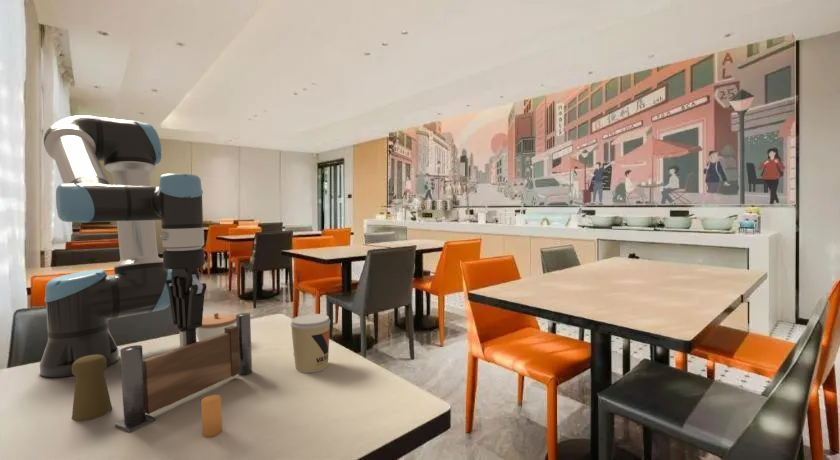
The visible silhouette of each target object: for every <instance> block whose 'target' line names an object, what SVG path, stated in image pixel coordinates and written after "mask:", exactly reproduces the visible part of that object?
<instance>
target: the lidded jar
mask: <svg viewBox="0 0 840 460" xmlns="http://www.w3.org/2000/svg"><path fill="white" fill-rule="evenodd" d="M236 315H237V314H236ZM236 315H235V314H231V313H219V312H214V313H213V314H211V315H207V316H203V318H202V326H201V327H198V328H196V339H197V341H201V340H204V339H207V338H210V337H213V336H216V335H219V334H222V333H225V329H224V328H226V327H229V326H237V323H236Z"/></svg>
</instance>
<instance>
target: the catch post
mask: <svg viewBox="0 0 840 460" xmlns="http://www.w3.org/2000/svg"><path fill="white" fill-rule="evenodd" d="M200 401H201V403H200V404H201V423H202V436H203V437H205V438H213V437H215V436H218V435H221V433H222V432H223V419H222V416H223V414H222V396H221V395H220V394H219V395H218V394H211V395H207V396H205V397H203V398H202V399H201V400H200Z"/></svg>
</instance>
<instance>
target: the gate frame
mask: <svg viewBox="0 0 840 460" xmlns="http://www.w3.org/2000/svg"><path fill="white" fill-rule="evenodd" d="M236 323H237V327H238V338H239V365H240V374H238V375H239V376H247V375H250V374H252V373H253V361H252V360H253V359H252V358H253V357H252V356H253V355H252V335H251V334H252V333H251V332H252V331H251V328H252V327H251V326H252V325H251V313H249V312H244V313H238V314H236ZM119 351H120V352H119V353H120V367H121V372H120V373H121V386H122V387H121V388H122V389H121V390H122V405H123V420H121V421H120V420H119V421H117V422H116V423H114V428H117V429H119V430H122V431H124V432H127V433H132V432H134V431H136V430H138V429H140V428H143V427H145V426H147V425H148V424H151V423H153V422H155V421H156V417H155V416H153V415H150V414H147V413H146V412H145V392H144V373H143V360H144V358H143V357H144V355H143V346H142V345H139V344H138V345H130V346H126V347H123V348H121V349H120V350H119Z"/></svg>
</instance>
